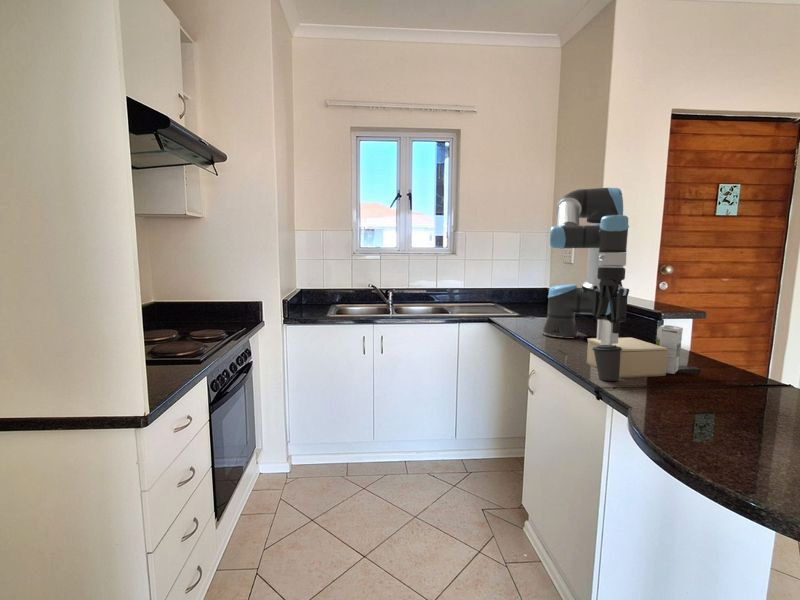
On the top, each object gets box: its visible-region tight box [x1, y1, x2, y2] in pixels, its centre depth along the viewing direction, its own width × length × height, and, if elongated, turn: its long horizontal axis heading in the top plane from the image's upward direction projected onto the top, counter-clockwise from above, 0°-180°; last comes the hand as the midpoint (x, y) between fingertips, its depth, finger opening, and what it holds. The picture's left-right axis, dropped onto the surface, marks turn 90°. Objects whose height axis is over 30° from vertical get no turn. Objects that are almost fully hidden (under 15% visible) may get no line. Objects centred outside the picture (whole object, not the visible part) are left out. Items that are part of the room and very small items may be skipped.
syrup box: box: [655, 324, 684, 375], centre depth 127 cm, size 6×6×14 cm
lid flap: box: [587, 319, 667, 351], centre depth 128 cm, size 15×17×9 cm
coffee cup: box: [592, 345, 622, 381], centre depth 119 cm, size 8×8×10 cm
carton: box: [586, 340, 668, 379], centre depth 129 cm, size 16×16×8 cm
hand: (606, 341), depth 124 cm, fingers open, 5 cm apart
